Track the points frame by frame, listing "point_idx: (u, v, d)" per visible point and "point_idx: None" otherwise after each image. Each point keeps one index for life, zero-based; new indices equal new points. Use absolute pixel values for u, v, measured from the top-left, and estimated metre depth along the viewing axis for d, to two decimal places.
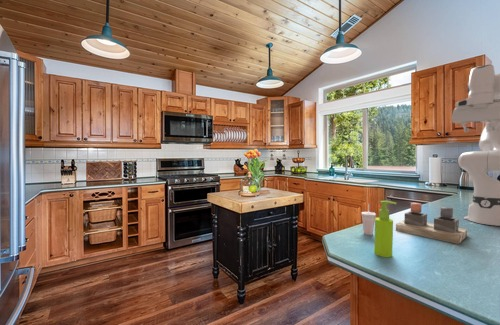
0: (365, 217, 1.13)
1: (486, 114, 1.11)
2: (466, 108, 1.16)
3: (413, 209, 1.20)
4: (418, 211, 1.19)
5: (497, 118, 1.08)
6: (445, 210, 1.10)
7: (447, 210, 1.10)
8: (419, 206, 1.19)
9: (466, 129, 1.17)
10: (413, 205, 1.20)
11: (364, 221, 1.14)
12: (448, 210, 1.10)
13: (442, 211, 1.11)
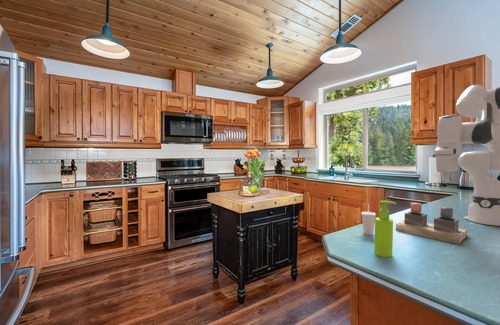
0: (365, 217, 1.13)
1: (454, 165, 1.11)
2: (452, 157, 1.06)
3: (413, 209, 1.20)
4: (418, 211, 1.19)
5: (455, 169, 1.13)
6: (445, 210, 1.10)
7: (447, 210, 1.10)
8: (419, 206, 1.19)
9: (449, 179, 1.10)
10: (413, 205, 1.20)
11: (364, 221, 1.14)
12: (448, 210, 1.10)
13: (442, 211, 1.11)
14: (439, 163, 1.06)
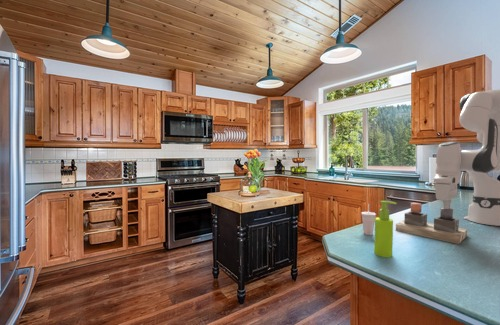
0: (365, 217, 1.13)
1: (453, 192, 1.11)
2: (451, 186, 1.07)
3: (413, 209, 1.20)
4: (418, 211, 1.19)
5: (455, 196, 1.14)
6: (445, 211, 1.10)
7: (447, 211, 1.10)
8: (419, 206, 1.19)
9: (449, 206, 1.11)
10: (413, 205, 1.20)
11: (364, 221, 1.14)
12: (448, 211, 1.10)
13: (442, 212, 1.11)
14: (438, 192, 1.06)
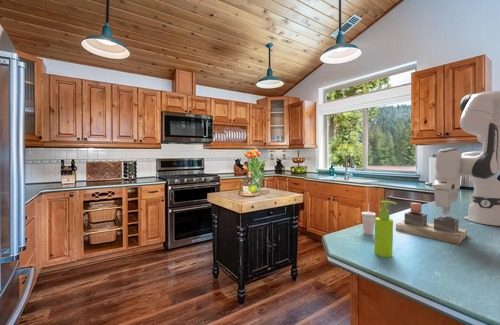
0: (365, 217, 1.13)
1: (453, 198, 1.12)
2: (450, 192, 1.07)
3: (413, 209, 1.20)
4: (418, 211, 1.19)
5: (454, 201, 1.14)
6: (445, 219, 1.10)
7: None
8: (419, 206, 1.19)
9: (448, 212, 1.11)
10: (413, 205, 1.20)
11: (364, 221, 1.14)
12: (448, 219, 1.10)
13: None
14: (437, 198, 1.06)
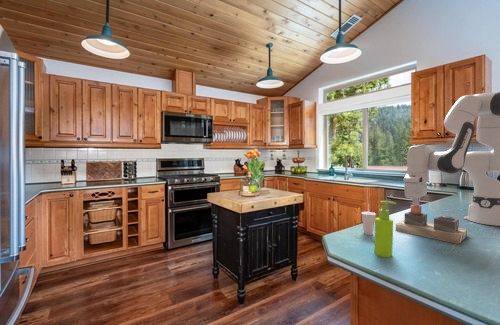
0: (365, 217, 1.13)
1: (422, 191, 1.21)
2: (419, 185, 1.16)
3: (413, 211, 1.20)
4: (418, 213, 1.19)
5: (424, 194, 1.23)
6: (445, 219, 1.10)
7: None
8: (419, 208, 1.19)
9: (418, 204, 1.20)
10: (413, 207, 1.20)
11: (364, 221, 1.14)
12: (448, 219, 1.10)
13: None
14: (406, 190, 1.15)
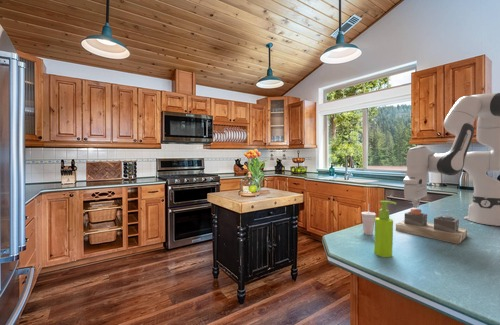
0: (365, 217, 1.13)
1: (422, 192, 1.21)
2: (418, 186, 1.16)
3: None
4: None
5: (424, 196, 1.23)
6: (445, 219, 1.10)
7: None
8: (419, 212, 1.19)
9: (417, 205, 1.20)
10: (413, 211, 1.20)
11: (364, 221, 1.14)
12: (448, 219, 1.10)
13: None
14: (406, 192, 1.16)
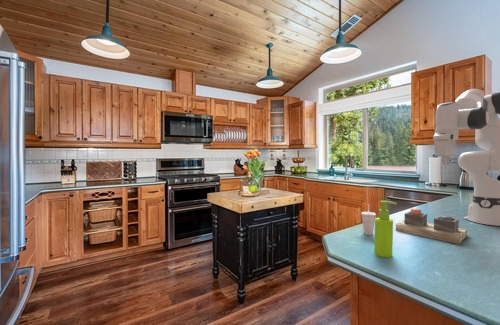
0: (365, 217, 1.13)
1: (451, 149, 1.19)
2: (449, 142, 1.14)
3: None
4: None
5: (453, 154, 1.21)
6: (445, 219, 1.10)
7: None
8: (419, 212, 1.19)
9: (447, 163, 1.18)
10: (413, 211, 1.20)
11: (364, 221, 1.14)
12: (448, 219, 1.10)
13: None
14: (437, 148, 1.13)
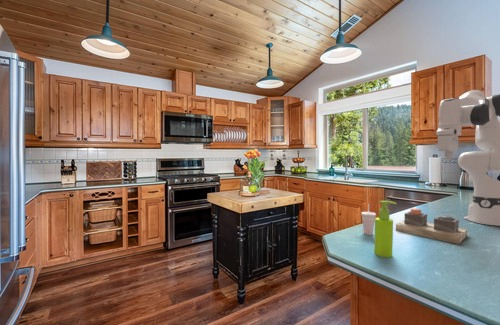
0: (365, 217, 1.13)
1: (454, 145, 1.19)
2: (453, 137, 1.14)
3: None
4: None
5: (456, 150, 1.21)
6: (445, 219, 1.10)
7: None
8: (419, 212, 1.19)
9: (450, 158, 1.18)
10: (413, 211, 1.20)
11: (364, 221, 1.14)
12: (448, 219, 1.10)
13: None
14: (440, 143, 1.13)
